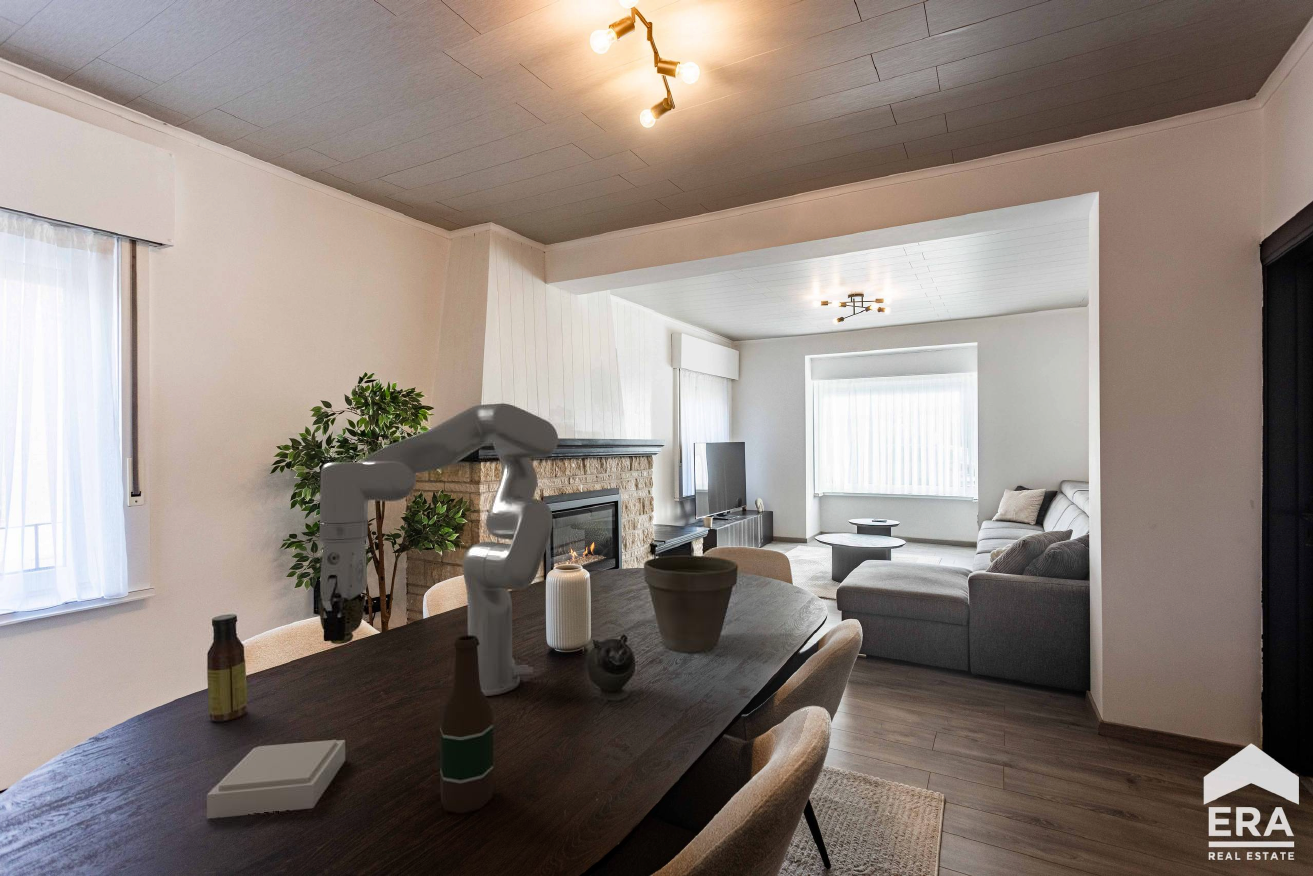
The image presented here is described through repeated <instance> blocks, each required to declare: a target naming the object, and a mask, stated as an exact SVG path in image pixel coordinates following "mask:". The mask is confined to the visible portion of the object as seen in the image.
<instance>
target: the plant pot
mask: <svg viewBox="0 0 1313 876" xmlns="http://www.w3.org/2000/svg"><path fill="white" fill-rule="evenodd" d="M738 566H739V565H738V564H737V563H736V562H735V561H734V560H733V561H732V560H729V559H727V558H726V559H725V558H723V557H722V558H721V557H715V556H713V557H712V556H704V555H703V556H702V555H669V556H660V557H653V558H651V559H647V560H646V561H645V562H644V563H643V571H644V572H643V573H644V582H645V583H646V584H647V585H648V591H649V594H650V598H651V603H652V606H653V610H654V615H655V619H656V622H657V626H658V630H659V634H660V638H661V641H662V644H663V646H664V647H665V648H667V649H669V650H672V651H675V652H679V651H680V653H688V652H696V653H703V652H702V651H704V652H707V651H706V650H709V651H711V650H710V649H712V648H714V647H715V648H716V647H717V646H718V644H719V642H720V637H721V635H722V631H723V627H724V623H725V619H726V615H727V612H728V607H729V604H730V600H731V597H732V592H733V588H734V587H735V585H737V583H738V582H737V581H738V568H739V567H738ZM715 648H714V649H715ZM712 650H713V649H712Z"/></svg>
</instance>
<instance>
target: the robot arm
mask: <svg viewBox="0 0 1313 876" xmlns="http://www.w3.org/2000/svg"><path fill="white" fill-rule="evenodd" d="M487 444H492V445H493V448H494V450H495V453H496V456H497V457H498V459H499V462H500V468H501V476H500V480H499V484H498V486H497V488H496V489H497V490H496V491H495V495H494V497H493V498H492V499H493V500H492V502H491V503H490V504H491V505H490V507H489V510H488V511H487V512H488V513H487V516H486V520H485V527H486V530H487V532H488V533H489V534H490V535H491V536H493V537H495V538H498V539H502V540H511V543H504V542H496V541H483V542H478V543H476V544H473V545H472V546H471V547H469V548H468V550H467V551H466V553H465V554H464V557H463V559H462V574H463V580H464V584H465V590H466V599H467V635H471V636H476V637H477V638H478V641H479V645H478V646H477V650H478V665H479V680H480V686H481V691H482V692H483V694H484V695H485V697H490V696H496V695H501V694H505V693H507V692H510V691H512V690H514V689H516V688H517V687H518V686H519V685H520V681H521V679H520V677H534V673H533V672H534V668H533V666H529V665H528V664H523V665H518V664H515V663H516V662H515V661H516V660H515V659H514V658H513V603H512V602H513V601H512V598H511V594H510V591H509V590H512V591H520V590H524V589H526V588H528V587H529V586H531V584H532V583H533V582H534V580H535V579H536V576H537V574H538V572H539V569H540V566H541V564H542V561H543V557H544V554H545V552H546V549H547V547H548V544H549V541H550V540H549V539H550V538H551V537H550V536H551V534H552V531H553V513H552V510H551V508H550V507H549V505H548V504H547V503H546V502H545V501H543V500H541V499H537V498H534V497H535V494H536V490H537V487H538V475H537V471H536V468H535V466H534V464H533V462H532V460H531V458H537V459H540V458H541V459H542V458H547V457H549V456H551V455H553V453H554V452H555V450H556V449H557V447H558V444H559V436H558V433H557V430H556V428H555V426H554V425H553V424H552V423H551V422H549V421H548V420H546V419H544V418H542V417H540V416H537V415H535V414H533V413H531V412H529V411H527V410H525V409H522V408H521V407H518V406H516V405H513V404H509V403H492V404H491V403H490V404H478V405H473V406H471V407H469V408H467V409H466V410H463V411H462V412H460V413H458V414H456V415H454V416H453V417H451V418H449V419H447V420H445V421H443V422H441V423H440V424H438V425H436V426H433V427H432V428H430V429H428V430H426V431H422V432H420V433H417V434H414V435H412V436H409V437H407V438H405V439H402V440H399V441H397V442H394V443H392V444H388V445H387V446H385V447H383V448H380V449H378V450H376V451H374V452H372V453H371V454H368V455H366V456H365V457H363V458H361V459H359V460H358V461H356V462H353V461H339V462H337V461H336V462H335V461H334V462H327V463H324V464H323V466H322V467H321V469H320V470H321V471H320V493H319V494H320V497H319V498H320V499H319V500H320V501H319V503H320V504H319V507H320V508H319V542H320V543H323V547H322V554H321V556H322V557H321V563H320V564H321V567H320V586H319V587H320V597H321V598H322V603H323V609H324V615H323V616H324V630H323V641H324V642H331V641H342V640H344V639H345V616H343V612H344V603H345V600H346V598H347V600H351V599H353V598H356V597H357V596H358V595H359V594H362V593H364V592H365V591H366V589H367V588H368V577H367V574H368V573H367V570H368V568H367V566H368V565H367V552H366V551H367V550H366V549H367V548H366V540H368V515H369V510H368V509H369V508H368V507H369V501H378V502H379V501H380V502H397V501H400V500H403V499H405V498H407V497H408V496H410V495H411V494H412V493H413V491H414V489H415V487H416V484H417V482H416V481H417V479H416V474H420V473H425V472H429V471H436V470H441V469H443V468H447V467H450V466H453V465H455V464H456V463H459V462H460V461H461V460H462V459H464V458H466V457H467V456H469V455H470V454H471V453H474V452H475V451H477V450H479V449H480V448H482V447H483V446H486V445H487ZM334 596H340V597H341V598H334ZM338 602H339V608H338V606H337V604H336V603H338Z"/></svg>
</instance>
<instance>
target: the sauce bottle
mask: <svg viewBox="0 0 1313 876" xmlns="http://www.w3.org/2000/svg"><path fill="white" fill-rule="evenodd" d="M237 623H238V617H237V614H234V613H229V614H222V615H218V616H215V617H213V618H212V619H211V625H212V628H213V630H212V632H213V638H212V639H213V641H212V643H211V645H210V647H209V650H208V651H207V654H206V657H207V659H206V661H207V663H206V665H207V666H206V669H207V670H206V673H207V678H206V679H207V695H208V697H207V698H208V713H209V719H210V720H211V721H212V722H217V723H218V722H219V723H221V722H227V721H232V720H235V719H238V718H240V717H242V716H244V715H245V713H246V712H247V708H248V707H247V704H248V693H247V692H248V691H247V671H246V670H247V667H246V659H245V645H244V644H243V643H242V641H241V640H240V639H239V637H238V634H237Z"/></svg>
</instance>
